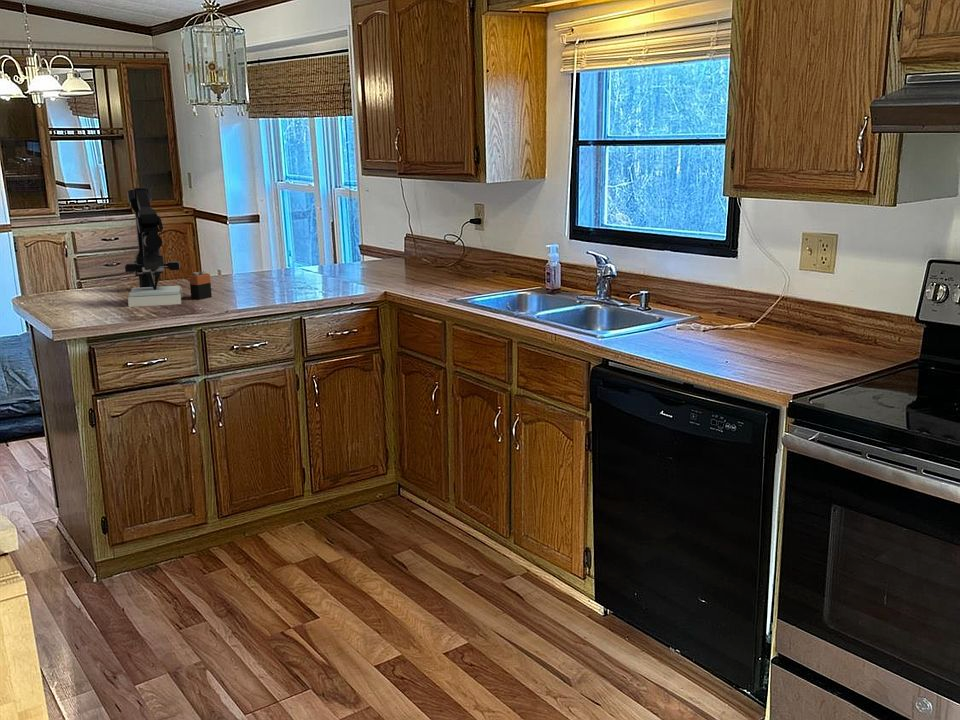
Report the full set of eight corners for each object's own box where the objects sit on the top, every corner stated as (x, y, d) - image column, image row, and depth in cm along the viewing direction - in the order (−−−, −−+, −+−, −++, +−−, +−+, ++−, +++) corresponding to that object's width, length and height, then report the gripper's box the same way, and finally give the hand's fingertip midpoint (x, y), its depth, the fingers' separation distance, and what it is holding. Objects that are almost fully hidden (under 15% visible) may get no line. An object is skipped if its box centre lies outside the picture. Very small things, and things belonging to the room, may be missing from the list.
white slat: (132, 299, 325) (131, 290, 324) (182, 297, 330) (181, 288, 329) (128, 306, 312) (127, 297, 311) (181, 304, 317) (180, 294, 316)
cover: (132, 290, 324) (132, 287, 324) (180, 288, 329) (180, 285, 329) (129, 296, 311) (128, 293, 311) (178, 294, 315) (178, 291, 315)
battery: (190, 299, 327) (188, 272, 324) (204, 296, 332) (202, 270, 330) (198, 300, 324) (196, 273, 322) (212, 297, 330) (210, 271, 328)
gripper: (121, 250, 306) (126, 294, 309) (176, 248, 311) (180, 291, 315) (124, 247, 316) (129, 289, 320) (178, 245, 321) (181, 287, 325)
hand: (155, 289), depth 319 cm, fingers closed, pressing on cover
